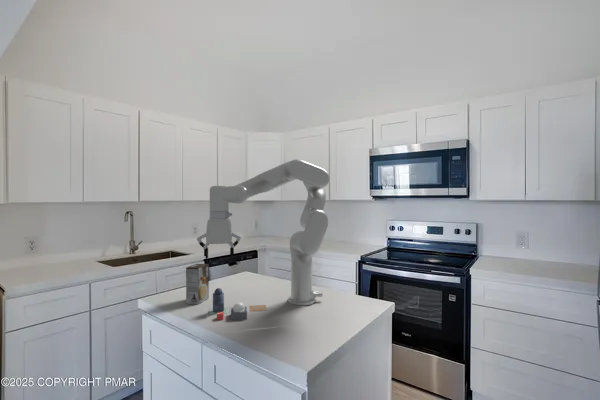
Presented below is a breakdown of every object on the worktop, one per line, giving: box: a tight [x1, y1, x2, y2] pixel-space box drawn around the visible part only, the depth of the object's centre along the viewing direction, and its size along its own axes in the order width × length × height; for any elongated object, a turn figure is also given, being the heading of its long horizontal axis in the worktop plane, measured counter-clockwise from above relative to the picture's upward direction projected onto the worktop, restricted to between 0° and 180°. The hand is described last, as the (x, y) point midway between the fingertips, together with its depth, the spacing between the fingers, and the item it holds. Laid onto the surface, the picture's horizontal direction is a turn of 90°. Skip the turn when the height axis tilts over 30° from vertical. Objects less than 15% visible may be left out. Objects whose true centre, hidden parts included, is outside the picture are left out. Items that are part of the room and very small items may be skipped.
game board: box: [208, 304, 268, 321], centre depth 122 cm, size 23×14×3 cm, turn 102°
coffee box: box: [185, 263, 210, 305], centre depth 138 cm, size 9×6×16 cm
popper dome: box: [232, 301, 245, 313], centre depth 118 cm, size 4×4×5 cm
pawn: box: [212, 287, 225, 313], centre depth 124 cm, size 4×4×9 cm
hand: (219, 257), depth 124 cm, fingers open, 9 cm apart
